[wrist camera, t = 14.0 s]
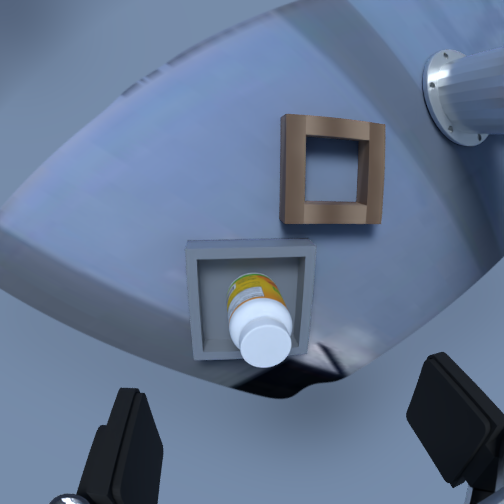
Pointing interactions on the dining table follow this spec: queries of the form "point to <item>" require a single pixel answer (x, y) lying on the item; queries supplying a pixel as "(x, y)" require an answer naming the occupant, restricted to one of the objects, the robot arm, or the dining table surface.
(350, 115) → the dining table surface
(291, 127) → the socket block
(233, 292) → the supplement bottle
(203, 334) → the tray
